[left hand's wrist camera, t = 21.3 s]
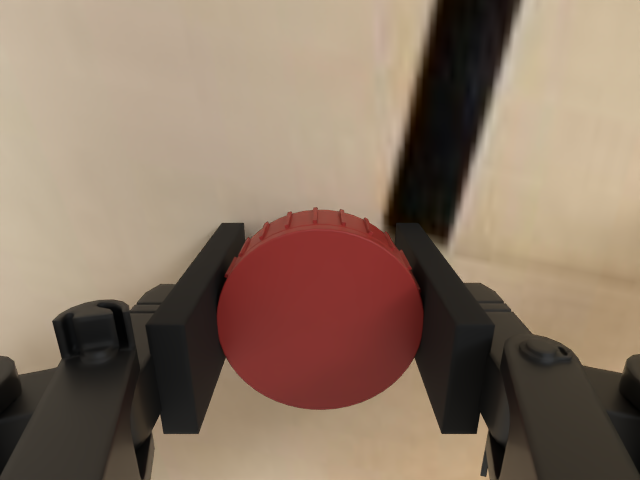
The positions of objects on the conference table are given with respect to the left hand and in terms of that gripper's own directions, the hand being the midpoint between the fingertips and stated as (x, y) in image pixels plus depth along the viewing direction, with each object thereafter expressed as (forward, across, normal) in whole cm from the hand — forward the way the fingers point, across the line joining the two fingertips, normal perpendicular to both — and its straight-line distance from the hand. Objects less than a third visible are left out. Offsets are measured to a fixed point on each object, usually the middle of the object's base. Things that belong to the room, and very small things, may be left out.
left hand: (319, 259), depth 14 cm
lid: (-4, 0, 0) cm, 4 cm away
